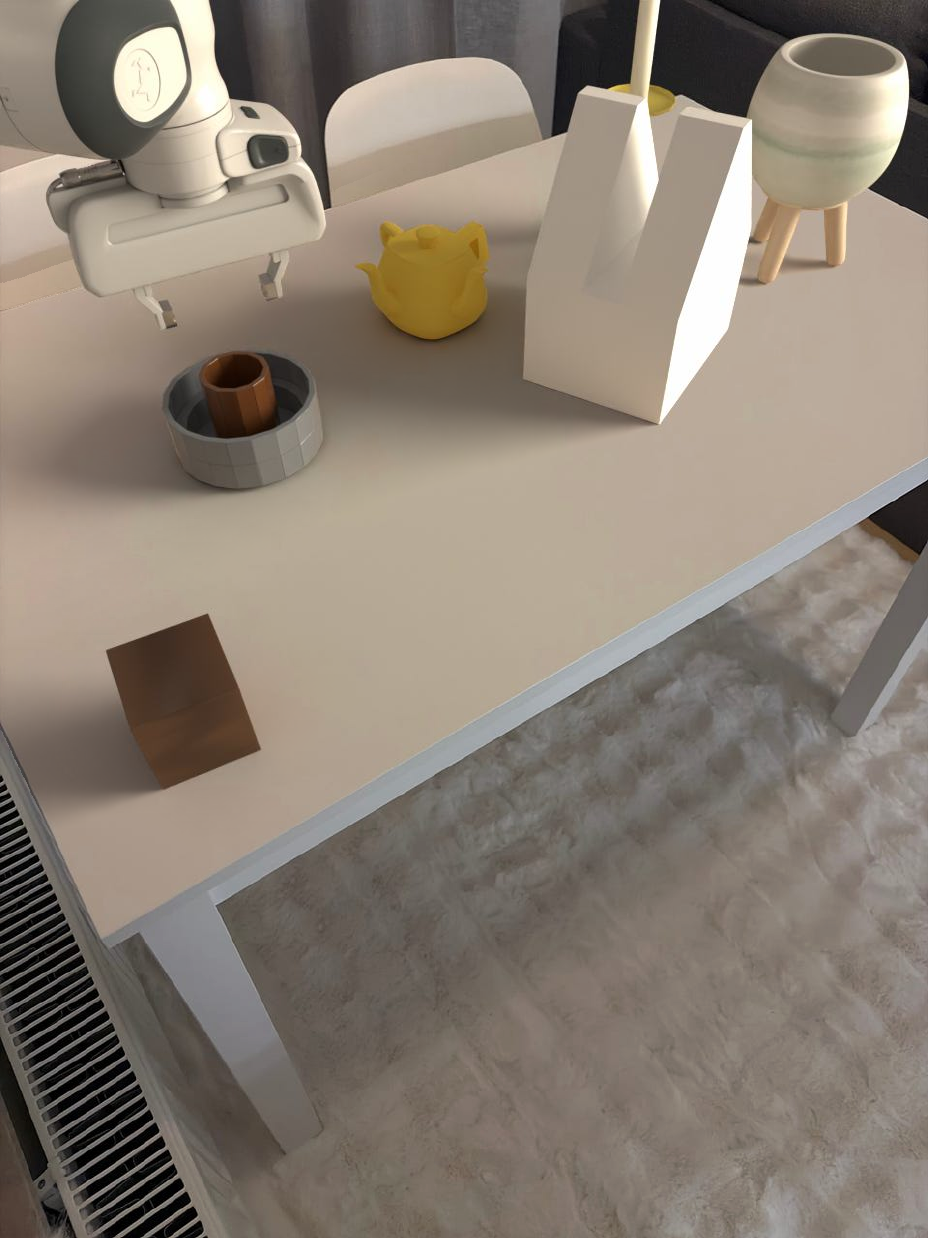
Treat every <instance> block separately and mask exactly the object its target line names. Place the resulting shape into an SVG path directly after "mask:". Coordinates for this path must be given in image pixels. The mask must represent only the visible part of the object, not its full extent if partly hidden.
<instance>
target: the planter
mask: <svg viewBox="0 0 928 1238" xmlns="http://www.w3.org/2000/svg"><path fill="white" fill-rule="evenodd" d="M909 82H910V79H909V69H908V65H907V60H906V57H905V56H904V55H903V53H902V52H901V51H900V50H898V49H897V48H895V47H894V46H892V45H890V44H888V43H885V42H883V41H882V40H877V39H874V38H871V37H866V36H861V35H857V34H855V35H854V34H847V33H816V34H808V35H803V36H798V37H796V38H793V39H790V40H788V41H787V42H785V43H784V44H782V45H781V46H780V47H779V48H778V50H776V52H775V54H774V55H773V56H772V58H771V59H770V61H769V62H768V64H767V66H766V68H765V69H764V71H763V73H762V74H761V77H760V78H759V81H758V83H757V85H756V87H755V90H754V92H753V95H752V97H751V101H750V104H749V107H748V110H747V113H746V117H745V118H747V119H752V157H751V177H752V178H753V179H754V181H755V182H756V184H757V185H758V186H759V187H760V189H761V191H762V192H763V194H764V195H765V196H766V198H767V200H766V201H765V204H764V206H763V209H762V211H761V214H760V216H759V218H758V220H757V223H756V225H755V228H754V230H753V234H752V236H753V239H754V240H755V241H757V242H761V243H764V242H766V246H765V248H764V251H763V255H762V258H761V261H760V264H759V268H758V272H757V279H758V281H759V282H761V283H764V284H770V283H773V282H774V281H775V280H776V278H777V275H778V273H779V270H780V268H781V265H782V264H783V261H784V258H785V255H786V253H787V250H788V249H789V245H790V242H791V240H792V238H793V235H794V232H795V229H796V227H797V224H798V222H799V219H800V217H801V214H802V211H823V218H824V219H823V223H824V225H823V226H824V241H825V243H824V244H825V245H824V246H825V261H826V263H827V264H828V265H830V266H833V267H837V266H841V265H842V264H843V263H844V261H845V259H846V249H847V219H848V204H849V203H848V202H849V201H850V200H852V199H854V198H855V197H857V196H858V195H861V194H862V193H863V192H865V191H866V190H867V189H869V188H870V187H871V186H872V185H873V184H874V183H875V182H876V181H877V180H878V179H879V178H880V177H881V176H882V175H883V173H884V172H885V171H886V170H887V168H888V167H889V165H890V164H891V162H892V160H893V158H894V156H895V154H896V152H897V150H898V147H899V145H900V142H901V139H902V136H903V133H904V129H905V124H906V120H907V115H908V108H909V107H908V106H909V95H910V83H909Z"/></svg>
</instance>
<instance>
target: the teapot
mask: <svg viewBox="0 0 928 1238" xmlns="http://www.w3.org/2000/svg"><path fill="white" fill-rule="evenodd" d="M379 235H380V239H381V240H380V241H381V242H382V246H383V251H382V254H381V256H380V259H379V262H378V265H376V264H374V263H371V262H360V263H357V264H355V265H354V267H355V269H358V270H361V271H363V272H364V273H365V274H366V275H367V278H368V281H369V287H370V294H371V298H372V300H373V302H374V305H376V307H377V308H378V309H379V310H380V311H381V312H382V313H383V314H384V315H385V317H386V318H387V319H388V320H389V321H390V322H391V324H393V325H394V326H395V327H397V328H398V329H399V330H401V331H403V332H405V333H407V334H409V335H411V336H414V337H417V338H420V339H425V340H438V339H442V338H446V337H448V336H451V335H454V334H456V333H458V332H461V331H462V330H463V329H466V328H467V327H469V326H471V325H472V324H473V323H475V322H476V321H477V320H478V319H479V318H480V317H481V316H482V314H483V313H484V311H485V309H486V307H487V304H488V290H487V285H486V280H485V277H484V274H486V273H489V268H487V267H485V265H486V263H488V261H489V259H490V258H491V256H490V255H491V254H490V250H489V245H488V239H487V234H486V230H485V226H484V225H483V224H481V223H479V222H476V221H474V220H473V221H470V222H469V223H467V224H466V225H464V226H462V227H461V228H460V229H458V230H456V231H452V230H450V229H448V228H445V227H443V226H440V225H437V224H422V225H421V224H420V225H417V226H414V227H413V228H410V229H407V230H405V231H404V230H403V229H402V228H401V227H399V226H398V225H397V224H395V223H394V222H391V221H384V222H382V223H381V224H380V226H379Z"/></svg>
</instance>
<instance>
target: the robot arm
mask: <svg viewBox="0 0 928 1238" xmlns="http://www.w3.org/2000/svg"><path fill="white" fill-rule="evenodd" d="M215 36H216V30H215V23H214V19H213V13H212V10H211V5H210V0H0V147H8V148H14V149H19V150H20V149H21V150H25V151H26V150H27V151H33V152H40V153H44V154H45V153H46V154H53V155H62V156H67V157H73V158H74V157H75V158H82V159H90V160H96V161H97V160H98V161H100V162H96V163H93V164H91V165H88V166H84V167H80V168H76V167H73V168H69V169H66V170H63V171H61V172H59V173H58V176H59V177H58V178H55V179H54V180H53V181H52V182H51V183H50V184H49V186H48V187H47V189H46V193H45V202H46V205H47V207H48V210H49V212H50V215H51V216H50V217H51V218H52V220H53V223H54V224H55V225H56V226H57V228H58V229H59V230H60V231H61V232H63V233H65V234H66V236H67V240H68V245H69V249H70V252H71V255H72V259H73V262H74V265H75V268H76V270H77V274H78V276H79V279H80V282H81V285H82V286H83V288H84V290H86V291H87V292H89V293H90V294H92V295H94V296H95V297H97V298H106V297H111V296H113V295H117V294H121V293H125V292H129V291H132V293H133V295H134V297H135V299H136V301H137V302H139V304H141V305H142V306H143V307H145V308H146V309H147V310H149V312H151V313H152V314H153V316H154V319H155V321H156V325H157V326H158V329H159V330H160V332H162V331H166V330H170V329H172V328H175V327H178V322H177V320H176V318H175V317H176V315H175V313H174V310H173V307H172V306H171V304H170V302H169V300H168V299H163V300H159V301H158V300H157V299H156V298H155V297H154V296H153V295H154V293H153V292H154V291H153V290H152V285H155V284H158V283H163V282H166V281H170V280H173V279H178V278H182V277H186V276H188V275H189V276H190V275H193V274H198V273H200V272H201V273H202V272H205V271H208V270H212V269H216V268H219V267H224V266H227V265H231V264H235V263H239V262H243V261H246V260H251V259H254V258H257V257H261V256H265V255H268V256H269V257H270V259H269V262H268V265H267V269H266V272H263V273H260V274H258V275H257V277H258V282H259V284H260V290H261V294H262V296H263V297H264V298H265V301H266V302H269V301H273V300H276V299H280V298H283V297H284V293H283V286H282V282H281V281H282V280H283V278H284V275H285V272H286V269H287V267H288V264H289V262H290V254H289V249H292V248H295V247H300V246H304V245H309V244H311V243H316V242H318V241H320V239H321V238H322V236H323V235H324V232H325V230H326V228H327V221H326V214H325V210H324V204H323V201H322V196H321V193H320V190H319V186H318V183H317V179H316V177H315V175H314V173H313V171H312V169H311V168H310V166H309V165H308V163H306V161H305V160H304V159H303V157H302V156H301V155H302V143H301V139H300V137H299V134H298V132H297V131H296V129H295V128H294V126H293V125H292V123H291V122H290V121H289V120H288V119H287V118H286V117H285V115H283V114H282V113H281V112H280V111H279V110H278V109H276V108H275V107H274V106H272V105H270V104H269V103H263V102H257V101H250V100H249V101H248V100H241V99H233V98H230V96H229V91H228V89H227V85H226V82H225V80H224V79H223V77H222V75H221V73H220V71H219V68H218V65H217V61H216V55H215V39H216V38H215ZM60 185H62V186H60Z"/></svg>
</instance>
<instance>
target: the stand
mask: <svg viewBox="0 0 928 1238" xmlns="http://www.w3.org/2000/svg"><path fill="white" fill-rule="evenodd" d="M105 653H106V657H107V660H108V663H109V666H110V671H111V673H112V677H113V679H114V683H115V685H116V689H117V693H118V695H119V698H120V702H121V705H122V708H123V712H124V715H125V719H126V721H127V724H128V725H127V726H128V728H129V731H130V732H131V734H132V736H133V737H134V740H135V741H136V743H137V745H138V747H139V749H140V751H141V753H142V754H143V756H144V758H145V759H146V762H147V763H148V765H149V767H150V768H151V770H152V772H153V774H154V776H155V778H156V779H157V781H158V784H159V785H160V787H161V789H162V790H166V789H169V788H171V787H173V786H176V785H178V784H181V783H184V782H186V781H189V780H191V779H193V778H195V777H199V776H200V775H202V774H205V773H207V772H211V771H213V770H215V769H217V768H220V767H223V766H225V765H227V764H230V763H233V762H235V761H236V760H240V759H241V758H244V757H247V756H249V755H252V754H254V753H256V752H260V751H261V750H262V748H261V745H260V742H259V740H258V736H257V734H256V731H255V728H254V726H253V723H252V720H251V717H250V715H249V712H248V709H247V706H246V703H245V700H244V698H243V695H242V693H241V690H240V687H239V684H238V682H237V680H236V677H235V675H234V672H233V670H232V668H231V667H232V666H231V664H230V663H229V660H228V658H227V656H226V653H225V651H224V648H223V646H222V643H221V640H220V637H219V636H218V633H217V631H216V629H215V626H214V624H213V621H212V619H211V616H210V614H209V613H204V614H202V615H199V616H196V617H194V618H190V619H189V620H185V621H183V622H180V623H177V624H175V625H171V626H169V627H166V628H163V629H161V630H160V629H159V630H157V631H155V632H153V633H152V632H151V633H149V634H146V635H143V636H141V637H139V638H136V639H133V640H130V641H127V642H125V643H121V644H118V645H115V646H114V647H111V648H107V649H105Z"/></svg>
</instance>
